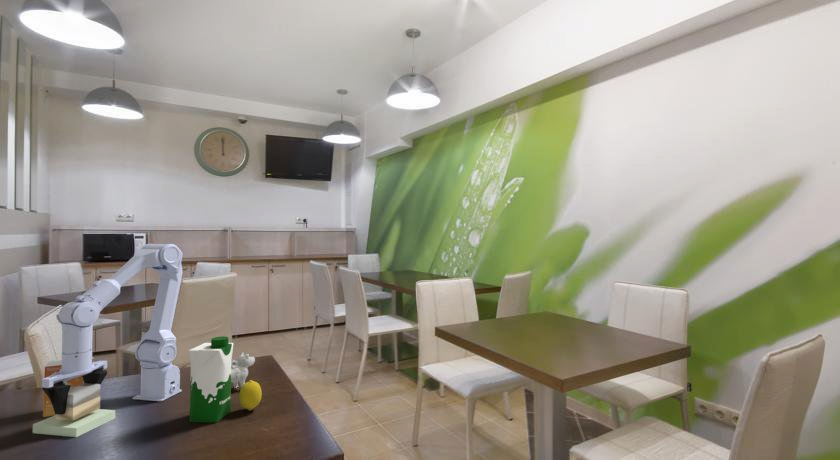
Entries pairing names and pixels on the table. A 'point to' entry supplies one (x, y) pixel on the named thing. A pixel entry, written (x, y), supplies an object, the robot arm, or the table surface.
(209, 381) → the milk carton
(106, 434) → the table surface
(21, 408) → the table surface
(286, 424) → the table surface
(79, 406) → the cream layered block
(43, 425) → the stand
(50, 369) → the small box
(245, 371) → the dog figurine
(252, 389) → the lemon
